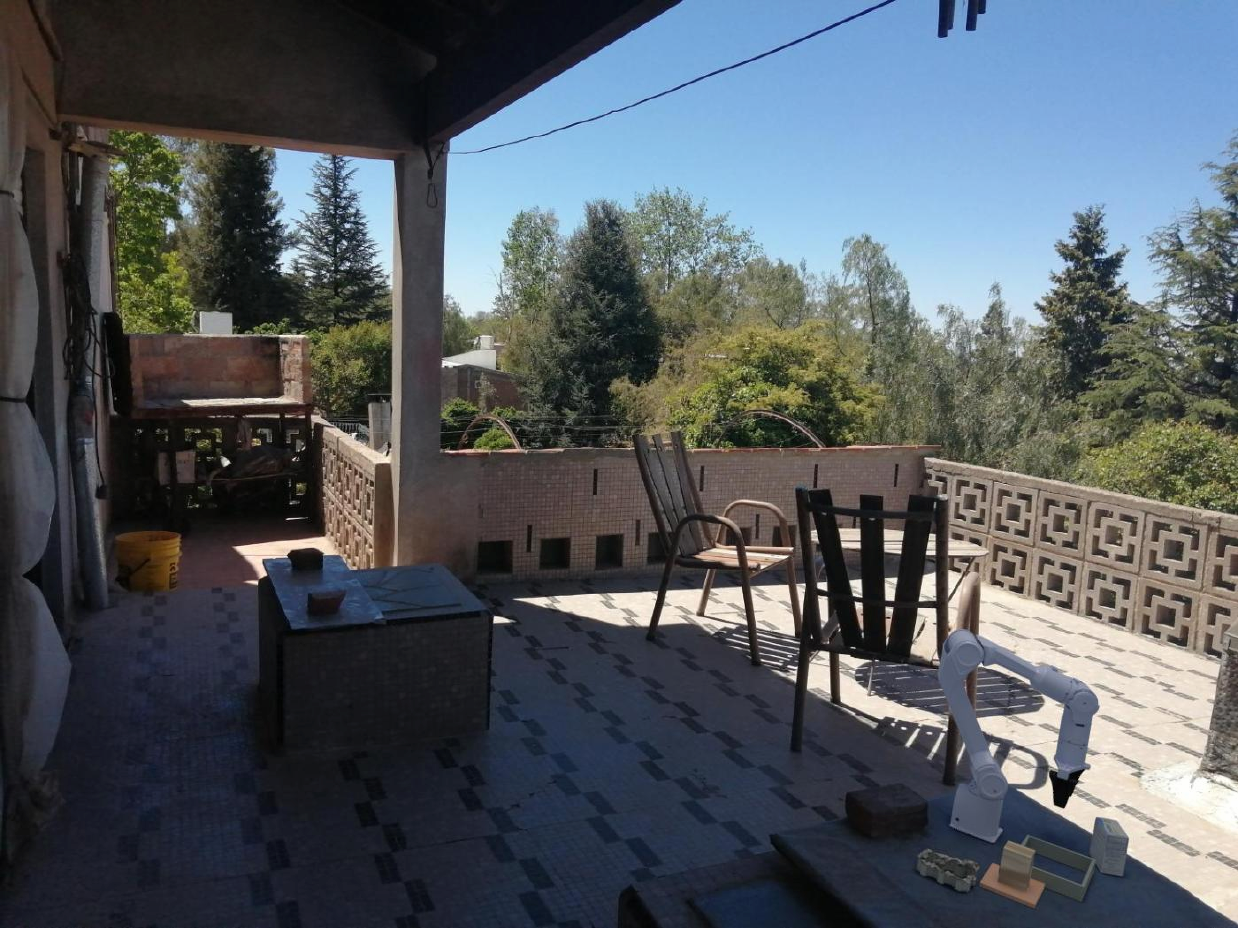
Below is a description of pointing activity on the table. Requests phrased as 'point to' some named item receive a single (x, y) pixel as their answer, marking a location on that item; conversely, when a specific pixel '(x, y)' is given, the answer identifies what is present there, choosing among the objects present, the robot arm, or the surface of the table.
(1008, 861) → the block
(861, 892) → the table surface
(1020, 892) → the pad
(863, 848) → the table surface
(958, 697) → the robot arm
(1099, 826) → the medicine box
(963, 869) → the egg carton
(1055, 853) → the bin
